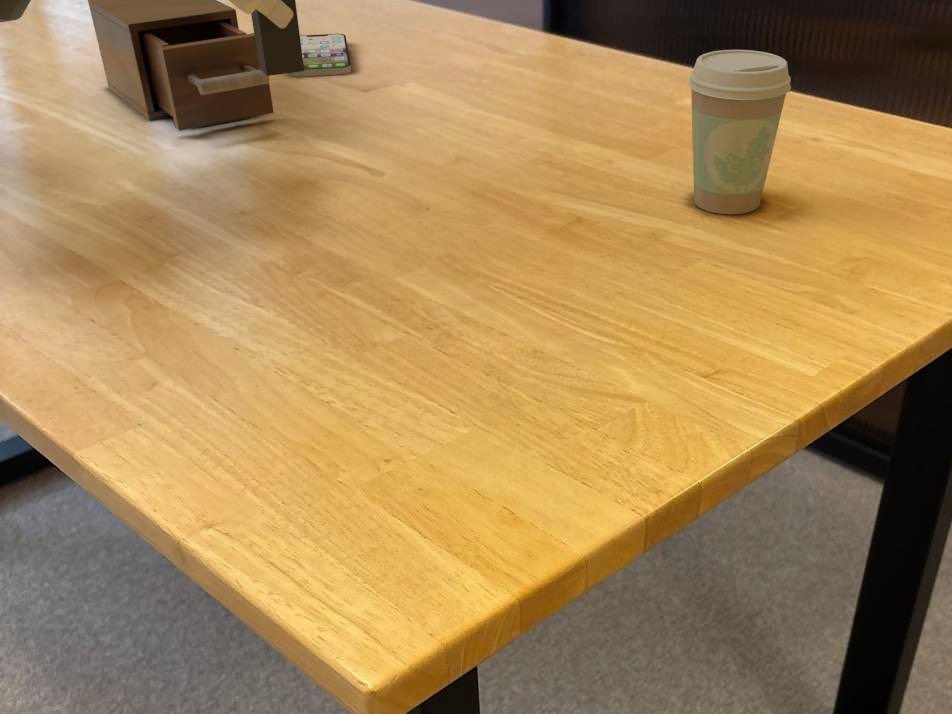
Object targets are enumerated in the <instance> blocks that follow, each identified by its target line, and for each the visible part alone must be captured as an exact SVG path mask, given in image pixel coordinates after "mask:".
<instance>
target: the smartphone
mask: <svg viewBox="0 0 952 714" xmlns="http://www.w3.org/2000/svg"><path fill="white" fill-rule="evenodd" d="M300 41H301V49H302V57H303V64H304V71H302V72H294V73H290V76H292V77H294V78H295V77H296V78H301V77H317V76H318V77H319V76H321V77H322V76H338V75H348V74H351V73H352V66H351V59H350V53H349V45H348V42H347V36H346V34H344V33H325V34H323V33H321V34H307V35H306V34H304V35H303V34H301V35H300Z"/></svg>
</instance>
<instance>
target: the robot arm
mask: <svg viewBox="0 0 952 714" xmlns="http://www.w3.org/2000/svg"><path fill="white" fill-rule="evenodd" d="M31 1H32V0H0V23H7V22H12V21H18V20H20V19H21V18H22V17H23V15H24V13H25V11H26V10H27V8H28V6H29V4H30V3H31ZM228 1H229V2H230V3H232V4H233V5H234V6H235V7H236V8H237V9H238V10H240V11H241V12H243V13H245V14H247V15H251V13H253V12H254V10H255V9H256V10H258V11H259V12H260V13H262V14H263V15H265V16H266V17H267V18H268V19H270V20H271V21H272V22H273V23H274V24H276V25H277V26H278V27H279V28H282V29H283V28H285V27H286V26H287V25H288V23H289V22H290V21H291V19H292V18H293V11H292V10H291V9H290V8H289V7H288V6H287V5H286V4H285V3H283V2H282V1H281V0H228Z"/></svg>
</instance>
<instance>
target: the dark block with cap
mask: <svg viewBox="0 0 952 714" xmlns="http://www.w3.org/2000/svg"><path fill="white" fill-rule="evenodd" d="M281 1H282V2H283V3H285V4H286V5H287V6H288V7H289V8H290V9H291V10H292V11H293V18H292V19H291V21H290V22H289V23H288V25H287V26H286V27H285V28H283V29H282V28H279V27H278V26H277V25H276V24H274V23H273V22H272V21H271V20H270V19H268V18H267V17H266V16H265V15H263V14H262V13H260V12H259V11H258V10H256V9H255V10H254V12H253V13H251V14H250V16H251V21H252V29H253V33H254V36H255V42H256V49H257V56H258V62H259V69H260V70H261V71H262V72H263V73H264V74H265V75H267V76H269V77H270V76H278V75H285V74H286V75H287V74H291V73H294V72H302V71H304V64H303V57H302V49H301V41H300V36H301V34H300V26H299V18H298V9H297V4H296V3H297V2H296V0H281Z"/></svg>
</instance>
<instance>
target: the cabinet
mask: <svg viewBox="0 0 952 714" xmlns="http://www.w3.org/2000/svg"><path fill="white" fill-rule="evenodd" d="M87 3H88V7H89V11H90V15H91V19H92V23H93V29H94V32H95V36H96V40H97V45H98V48H99V53H100V57H101V61H102V65H103V70H104V74H105V78H106V82H107V83H106V84H107V87H108V89H109V90H110V91H111V92H112V93H114V94H115V95H116V96H118V97H119V98H120V99H121V100H123V102H124V103H126V104H128V105H129V106H130V107H131V108H133V109H134V110H136V111H137V112H138V113H139V114H140V115H142V116H143V117H144V118H146V119H148V121H155V120H160V119H166V118H171V117H172V116H171V115H170V114H168V113H167V112H166V111H164V110H163V109H161V108H160V107H159V106H157V105H156V104H155V103H153V101H152V96H151V92H150V87H149V82H148V78H147V73H146V68H145V64H144V59H143V55H142V50H141V45H140V41H139V36H138V32H139V31H146V30H153V29H160V28H167V27H174V26H181V25H188V24H195V23H202V22H209V21H216V20H222V21H224V22H226V23H228V24H230V25H232V26H234V27H236V28H237V29H239V30H240V28H239V23H238V22H239V21H238V17H237V9H235V8H234V7H231V6H229V5H227V4H225V3H223V2H221V1H220V0H87Z"/></svg>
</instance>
